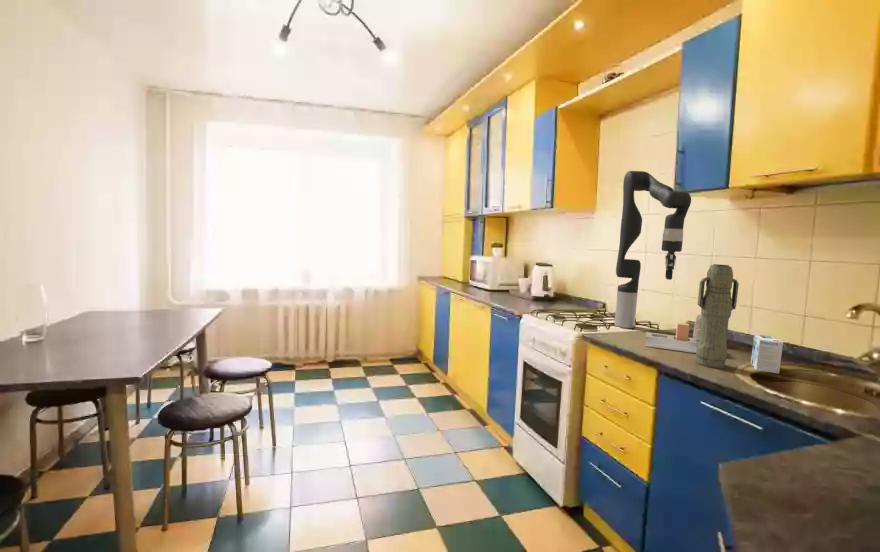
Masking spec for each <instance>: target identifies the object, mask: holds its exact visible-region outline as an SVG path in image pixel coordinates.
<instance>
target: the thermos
mask: <svg viewBox="0 0 880 552" xmlns="http://www.w3.org/2000/svg"><path fill="white" fill-rule="evenodd" d="M731 290H732V293H731ZM738 291H739V282H738V279H735V278H734V272H733V268H732V266H730V265H729V264H718V263H717V264H715V263H714V264H711V265H709V268H708V270H707V273H706V277H703V278H701V280H700V281H699V287H698V294H697V295H698V297H697V305H698V306H699V307H700V315H702V322H701V332H700V340H699V342H698V344H697V352H696V353H695V356H696V360H695V363H696V364H697V365H699V366H702V367H706V368H712V369H724V368H726V367H725V366H726V365H725V364H726V361H727V355H728V346H727V337H728V331H729V330H728V329H729V321H730V320H729V319H730V318H731V316H732V311H733V310H736V307H737V304H738V303H737V302H738V294H739V292H738Z"/></svg>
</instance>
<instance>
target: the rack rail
mask: <svg viewBox="0 0 880 552" xmlns="http://www.w3.org/2000/svg"><path fill="white" fill-rule="evenodd" d="M645 332H646V333H645V338H644V339H645V342H644V346H645V347H648V348H656V349H664V350H671V351H677V352H685V353H689V354H690V353H692V354H696V352H697V344H698V342H699V340H700V339H697V338H693V337H689V336H688V341H685V340H678V339H676V335H671V334H664V333H657V332H649V331H645Z"/></svg>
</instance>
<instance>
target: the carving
mask: <svg viewBox="0 0 880 552" xmlns="http://www.w3.org/2000/svg"><path fill="white" fill-rule="evenodd" d="M701 322H702V314H698V315H697V316H696V317H695V321H694V326H693V335H692V338H697V339H700V332H701Z"/></svg>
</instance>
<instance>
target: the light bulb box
mask: <svg viewBox="0 0 880 552" xmlns="http://www.w3.org/2000/svg"><path fill="white" fill-rule="evenodd" d="M783 347H784V341H782V340H780V339H779V338H778V337H777V336H772V335H763V334H753V339H752V350H751V359H750V364H751V366H752V367H753V366H754V367H753V368H754V370H755V371H759V372H766V373H771V374H772V373H773V374H780V368H781V361H782V353H783Z"/></svg>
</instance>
